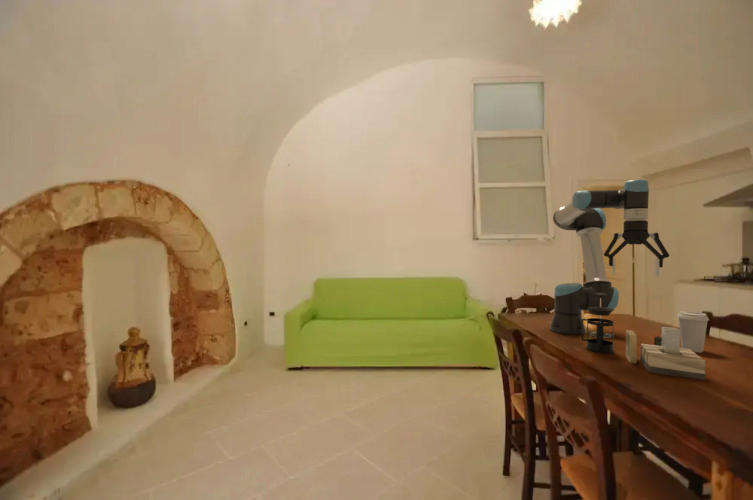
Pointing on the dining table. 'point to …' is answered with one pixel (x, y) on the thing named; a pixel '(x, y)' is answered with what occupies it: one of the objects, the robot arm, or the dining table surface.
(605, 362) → the dining table surface
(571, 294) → the robot arm
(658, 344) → the hand tool
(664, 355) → the bore block
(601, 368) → the dining table surface
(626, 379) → the dining table surface
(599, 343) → the french press
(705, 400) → the dining table surface
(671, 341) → the square bit
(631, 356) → the beige rectangular slab
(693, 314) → the coffee cup
